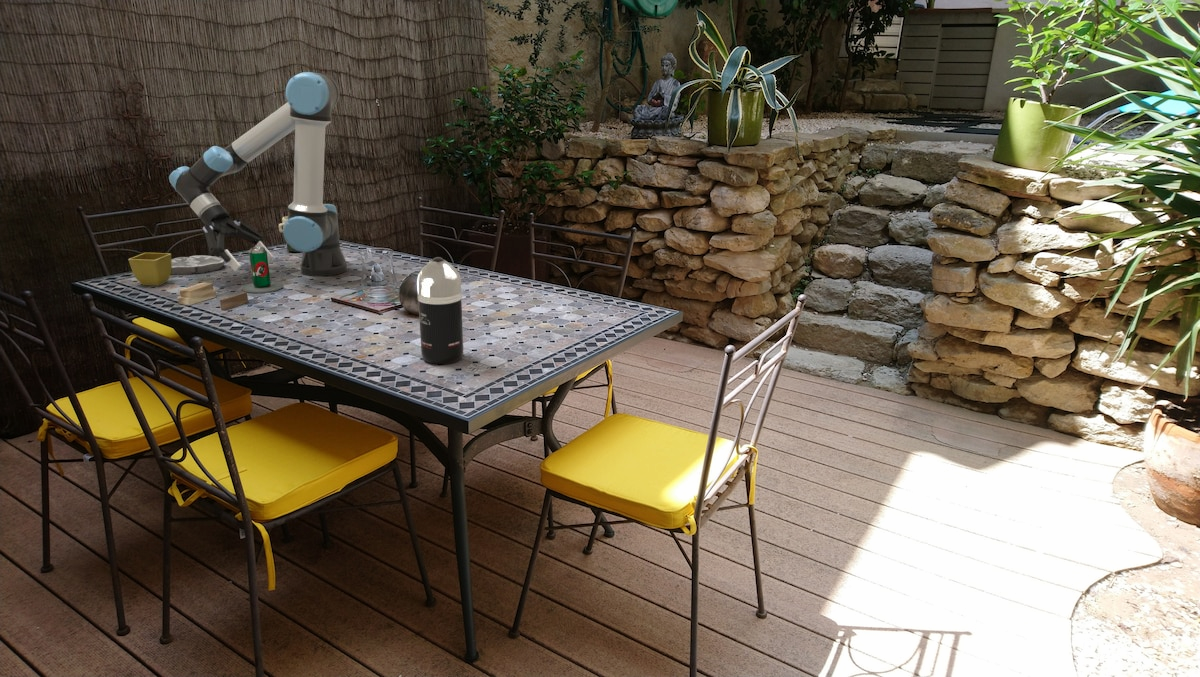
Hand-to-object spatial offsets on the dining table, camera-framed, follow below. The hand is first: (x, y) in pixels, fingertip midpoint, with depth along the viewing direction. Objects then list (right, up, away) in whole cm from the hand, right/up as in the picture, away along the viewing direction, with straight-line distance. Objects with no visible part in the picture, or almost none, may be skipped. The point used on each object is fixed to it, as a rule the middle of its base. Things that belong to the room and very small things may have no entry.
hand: (255, 264), depth 228 cm
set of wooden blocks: (-6, -13, -13) cm, 19 cm away
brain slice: (-32, 0, +23) cm, 39 cm away
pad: (+1, -7, +2) cm, 8 cm away
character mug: (-8, +10, +51) cm, 52 cm away
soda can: (+1, -7, +2) cm, 7 cm away
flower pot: (-34, -6, +4) cm, 34 cm away
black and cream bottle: (+69, -28, -51) cm, 90 cm away
